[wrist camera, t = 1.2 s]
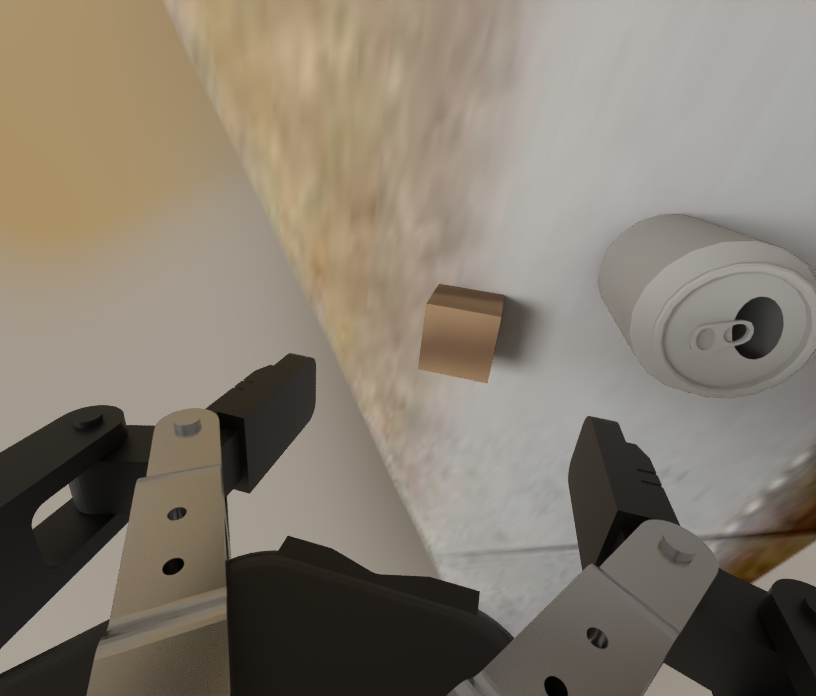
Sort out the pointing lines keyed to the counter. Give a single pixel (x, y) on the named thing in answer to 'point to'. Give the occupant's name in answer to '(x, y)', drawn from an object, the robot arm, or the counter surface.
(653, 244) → the can
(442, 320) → the block
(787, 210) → the counter surface
